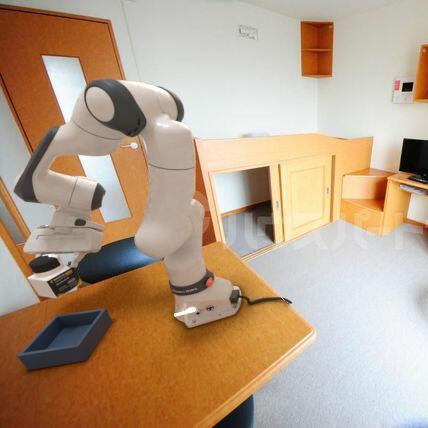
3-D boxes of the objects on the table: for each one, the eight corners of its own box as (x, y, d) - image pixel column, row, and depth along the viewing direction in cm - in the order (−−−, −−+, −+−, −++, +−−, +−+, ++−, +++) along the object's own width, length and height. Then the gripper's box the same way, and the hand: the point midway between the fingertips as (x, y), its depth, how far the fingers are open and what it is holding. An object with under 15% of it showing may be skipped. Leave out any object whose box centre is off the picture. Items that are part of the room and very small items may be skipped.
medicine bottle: (58, 299, 71) (37, 266, 65) (38, 296, 72) (16, 264, 67) (83, 283, 77) (66, 252, 72) (65, 280, 78) (47, 249, 73)
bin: (112, 321, 80) (105, 308, 77) (86, 360, 68) (77, 346, 65) (64, 328, 77) (55, 315, 75) (28, 370, 65) (16, 356, 63)
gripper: (25, 222, 73) (7, 267, 69) (95, 221, 75) (82, 265, 70) (46, 228, 79) (31, 270, 75) (110, 226, 81) (99, 268, 76)
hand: (56, 268), depth 72 cm, fingers closed on medicine bottle, 7 cm apart
